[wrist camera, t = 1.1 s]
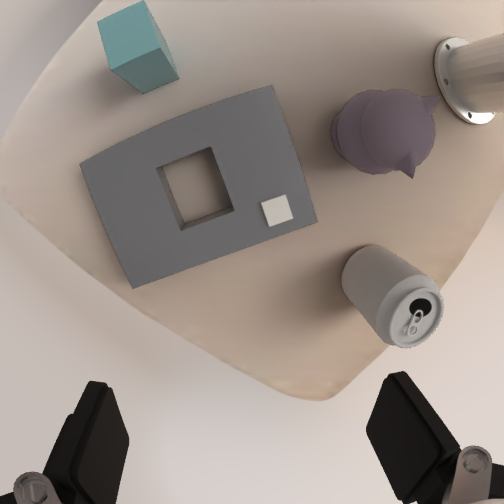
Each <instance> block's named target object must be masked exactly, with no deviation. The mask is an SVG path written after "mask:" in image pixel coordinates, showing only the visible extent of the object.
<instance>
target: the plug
mask: <svg viewBox="0 0 504 504" xmlns="http://www.w3.org/2000/svg"><path fill="white" fill-rule="evenodd" d="M97 23H98V27H99V31H100V35H101V38H102V42H103V45H104V49H105V52H106V56H107V59H108V63H109V66H110V69H111V71H113V72H114V73H116V74H117V75H119V76H120V77H121V78H123V79H124V80H125V81H127V82H128V83H130V84H131V85H132V86H134V87H135V88H136V89H138V90H139V91H141V92H142V93H143V94H144V93H146V92H148V91H151V90H153V89H155V88H157V87H160V86H162V85H165V84H167V83H170V82H172V81H175V80H177V79H179V77H178V74H177V71H176V68H175V66H174V63H173V60H172V57H171V55H170V52H169V49H168V46H167V43H166V41H165V39H164V37H163V35H162V33H161V31H160V29H159V27H158V26H157V24H156V22H155V20H154V18H153V16H152V14H151V12H150V11H149V9H148V7H147V5H146V3H145V1H144V0H143V1H141V2H139V3H136V4H134V5H132V6H129V7H127V8H125V9H123V10H121V11H119V12H116V13H114V14H112V15H110V16H108V17H106V18H104V19H102V20H100V21H98V22H97Z"/></svg>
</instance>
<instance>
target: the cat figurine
mask: <svg viewBox="0 0 504 504" xmlns="http://www.w3.org/2000/svg"><path fill="white" fill-rule="evenodd" d="M440 97H441V95H440V96H424V97H418V96H417V95H415V94H413V93H411V92H409V91H407V90H401V89H390V90H387V91H382V90H367V91H364V92H361V93H358V94H357V95H355V96H354V97H353V98H352V99H350V100H349V101H348V102H347V103H346V105H345V106H344V108H343V110H342V111H341V112H340V113H339V114H337V116H336V117H335V119H334V121H333V123H332V128H331V139H332V142H333V145H334V147H335V149H336V150H337V152H338V153H339V154H340V156H342V157H343V158H345V159H346V160H347V161H349V163H350V164H352V165H353V166H354V167H356V168H357V169H358V170H360V171H363V172H366V173H369V174H372V175H373V174H386V173H388V172H390V171H392V170H394V171H398V170H401V171H402V172H404V173H405V174H406V175H408V176H409V177H411V178H412V179H413V176H414V172H415V168H416V166H418V165H420V164H421V163H422V162H423V161H424V160H425V158H426V157H427V156H428V155H429V153H430V151H431V149H432V147H433V144H434V139H435V123H434V120H433V116H432V113H433V111H434V109H435V107H436V105H437V103H438V101H439V99H440Z"/></svg>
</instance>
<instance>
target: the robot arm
mask: <svg viewBox="0 0 504 504" xmlns="http://www.w3.org/2000/svg"><path fill="white" fill-rule="evenodd" d="M434 64H435V73H436V78H437V81H438V85H439V87H440V90H441V92H442V95H443V96H444V98H445V100H446V102H447V103H448V105H449V106H450V107H451V109H452V110H453V111H454V112H455V113H456V114H457V115H458V116H459V117H460V118H461V119H463V120H464V121H466V122H468V123H471V124H486V123H488V122H489V121H491V120H492V118H493V117H494V116H495V114H496V112H504V33H503V34H500V35H496V36H493V37H489V38H486V39H482V40H479V41H476V42H472V43H471V42H469V41H468V40H465V39H463V38H459V37H451V38H448V39H446V40H444V41H443V42H441V43H440V45H439V46H438V47H437V50H436V53H435V59H434ZM366 432H367V436H368V438H369V440H370V442H371V444H372V446H373V448H374V450H375V453H376V455H377V457H378V459H379V461H380V463H381V465H382V467H383V469H384V472H385V474H386V476H387V478H388V480H389V482H390V484H391V486H392V489H393V491H394V493H395V495H396V497H397V499H398V500H402V502H403V504H410V503H412V502H415V501H417V503H418V504H504V466H503V465H498V464H494V463H492V458H491V456H490V454H489V453H488V451H487V450H485V449H483V448H482V447H479V446H468V447H466V448H464V449H463V450H461V449H460V448H459V447H460V445H459V444H458V442H457V441H456V440H455V438H454V437H453V436H452V434H451V432H450V431H449V430H448V428H447V427H446V426H445V424H444V423H443V421H442V420H441V419H440V417H439V416H438V414H437V413H436V412H435V411H434V409H433V408H432V406H431V405H430V404H429V402H428V401H427V399H426V398H425V397H424V395H423V394H422V393H421V391H420V390H419V389H418V387H417V386H416V385H415V384H414V382H413V381H412V380H411V378H410V377H409V376H408V374H407V373H406V372H404V371H401V372H397V373H391V374H389V375H388V377H387V378H386V379H384V381H383V384H382V387H381V389H380V392H379V395H378V398H377V401H376V403H375V406H374V408H373V411H372V414H371V416H370V419H369V421H368V424H367V426H366ZM128 446H129V436H128V433H127V431H126V428H125V425H124V423H123V420H122V417H121V414H120V411H119V408H118V405H117V402H116V399H115V396H114V393H113V390H112V388H110V387H108V386H107V384H106V383H104V382H96V381H89V382H88V384H87V386H86V388H85V390H84V392H83V394H82V396H81V398H80V400H79V402H78V404H77V407H76V409H75V411H74V413H73V414H70V415H68V417H67V418H66V420H65V423H64V425H63V427H62V429H61V431H60V433H59V436H58V438H57V440H56V442H55V445H54V447H53V449H52V452H51V454H50V456H49V459H48V461H47V463H46V466H45V468H44V470H43V473H42V474H41V473H38V472H26V473H24V474H22V475H20V476H19V477H18V478H17V479H16V481H15V483H14V488H13V489H14V492H11V493H8V494H5V495H2V496H0V504H116V500H117V495H118V490H119V485H120V481H121V476H122V472H123V467H124V463H125V459H126V455H127V451H128Z"/></svg>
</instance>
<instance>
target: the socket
mask: <svg viewBox="0 0 504 504" xmlns="http://www.w3.org/2000/svg"><path fill="white" fill-rule="evenodd" d="M208 148H212V151H213V153H214V156H215V159H216V162H217V164H218V167H219V170H220V172H221V175H222V178H223V181H224V183H225V186H226V189H227V191H228V194H229V197H230V199H231V202H232V205H233V207H230V208H227V209H224V210H222V211H219V212H216V213H214V214H211V215H208V216H206V217H203V218H200V219H198V220H195V221H193V222H190V223H187V224H184V222H183V219H182V217H181V214H180V212H179V209H178V207H177V204H176V202H175V199H174V197H173V194H172V192H171V189H170V186H169V184H168V181H167V179H166V176H165V173H164V171H163V168H162V167H163V166H166V165H168V164H170V163H173V162H175V161H178V160H180V159H183V158H185V157H188V156H190V155H193V154H195V153H198V152H200V151H203V150H206V149H208ZM80 167H81V170H82V173H83V175H84V178H85V181H86V183H87V186H88V189H89V191H90V194H91V197H92V199H93V202H94V204H95V207H96V209H97V212H98V214H99V217H100V219H101V221H102V224H103V226H104V228H105V231H106V233H107V235H108V238H109V240H110V242H111V244H112V247H113V249H114V251H115V253H116V255H117V258H118V260H119V262H120V264H121V266H122V268H123V270H124V272H125V274H126V276H127V278H128V281H129V283H130V285H131V287H132V289H134V288H136V287H139V286H142V285H145V284H147V283H150V282H153V281H156V280H158V279H161V278H164V277H167V276H169V275H172V274H175V273H178V272H180V271H183V270H186V269H189V268H191V267H194V266H197V265H200V264H202V263H205V262H208V261H211V260H213V259H216V258H219V257H222V256H225V255H227V254H230V253H233V252H236V251H238V250H241V249H244V248H247V247H250V246H252V245H255V244H258V243H261V242H263V241H266V240H269V239H272V238H275V237H277V236H280V235H283V234H286V233H289V232H291V231H294V230H297V229H300V228H303V227H305V226H308V225H311V224H314V223H317V222H318V221H317V217H316V214H315V211H314V207H313V204H312V201H311V197H310V194H309V191H308V188H307V184H306V181H305V178H304V175H303V172H302V169H301V166H300V163H299V160H298V157H297V154H296V151H295V148H294V145H293V142H292V139H291V136H290V133H289V130H288V127H287V124H286V122H285V119H284V116H283V113H282V110H281V108H280V105H279V102H278V100H277V97H276V94H275V92H274V89H273V86H272V85H270V86H267V87H263V88H260V89H256V90H253V91H250V92H246V93H243V94H240V95H237V96H234V97H231V98H228V99H225V100H222V101H219V102H216V103H213V104H210V105H208V106H205V107H202V108H199V109H197V110H194V111H191V112H189V113H186V114H184V115H181V116H179V117H176V118H174V119H171V120H169V121H167V122H164V123H162V124H159V125H157V126H155V127H153V128H150V129H148V130H146V131H144V132H141V133H139V134H137V135H135V136H133V137H131V138H128V139H126V140H124V141H122V142H120V143H118V144H116V145H114V146H112V147H110V148H108V149H106V150H104V151H102V152H100V153H98V154H97V155H95V156H93V157H91V158H89V159H87V160H85V161H84V162H82V163H80Z"/></svg>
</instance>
